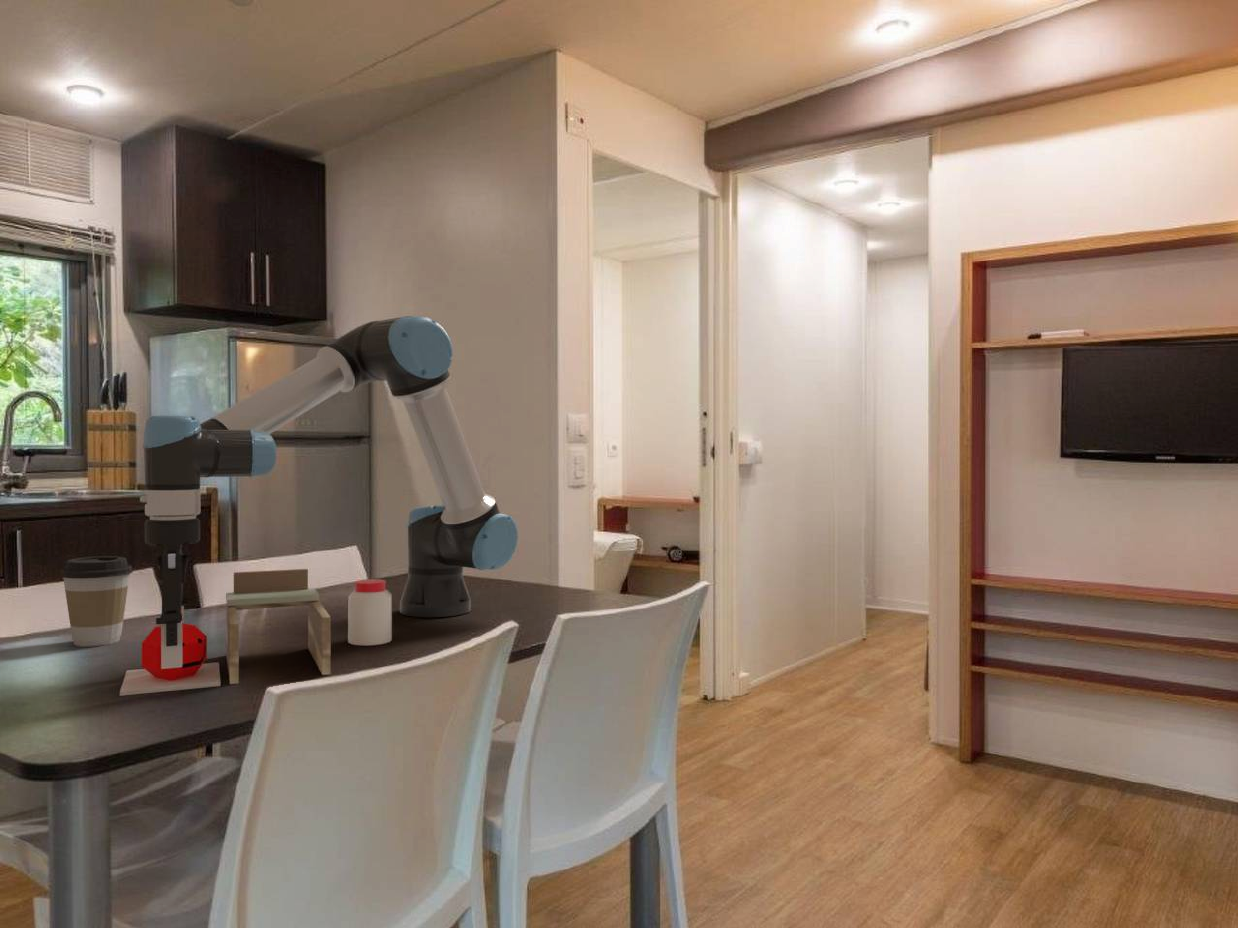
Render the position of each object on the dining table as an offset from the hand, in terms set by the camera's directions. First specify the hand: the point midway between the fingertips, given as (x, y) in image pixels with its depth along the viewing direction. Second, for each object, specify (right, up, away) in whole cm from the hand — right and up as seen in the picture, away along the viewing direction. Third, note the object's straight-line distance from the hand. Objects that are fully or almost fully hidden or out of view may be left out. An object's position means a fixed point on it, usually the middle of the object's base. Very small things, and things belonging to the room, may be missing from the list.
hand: (173, 657), depth 133 cm
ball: (0, -3, 0) cm, 3 cm away
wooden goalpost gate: (+12, -3, +10) cm, 16 cm away
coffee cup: (-26, -3, +25) cm, 37 cm away
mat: (0, -3, 0) cm, 3 cm away
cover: (+8, +6, +18) cm, 20 cm away
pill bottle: (+22, -3, +28) cm, 36 cm away
